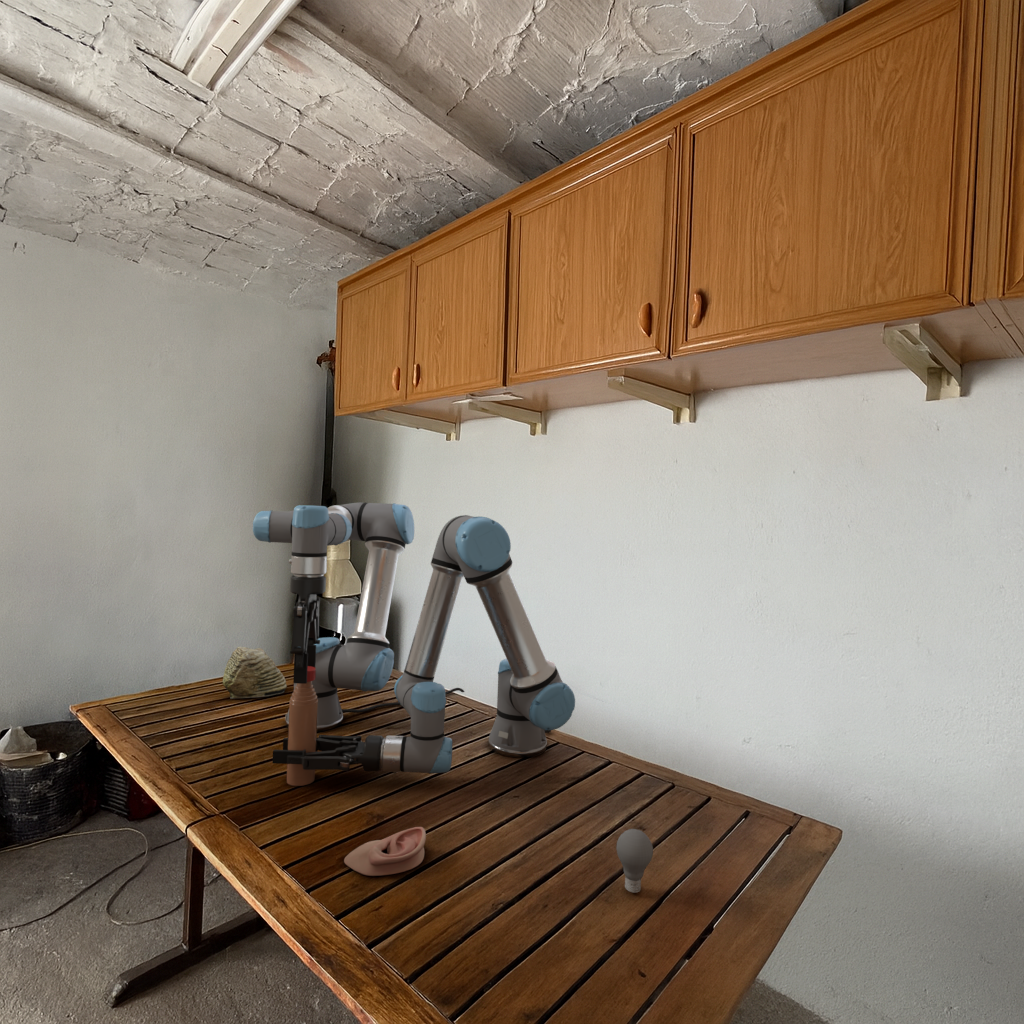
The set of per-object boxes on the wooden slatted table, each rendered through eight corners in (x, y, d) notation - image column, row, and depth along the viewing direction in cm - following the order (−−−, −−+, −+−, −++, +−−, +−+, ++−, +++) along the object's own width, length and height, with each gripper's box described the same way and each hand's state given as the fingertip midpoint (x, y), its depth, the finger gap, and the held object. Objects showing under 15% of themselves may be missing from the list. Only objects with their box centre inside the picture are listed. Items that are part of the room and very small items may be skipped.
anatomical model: (336, 847, 108) (365, 815, 119) (335, 870, 108) (364, 836, 119) (410, 859, 105) (432, 825, 116) (409, 883, 105) (431, 846, 116)
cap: (292, 677, 142) (293, 666, 142) (314, 675, 144) (314, 665, 144) (294, 683, 138) (294, 672, 138) (316, 681, 140) (316, 670, 140)
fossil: (218, 695, 195) (220, 647, 195) (278, 685, 208) (279, 640, 207) (228, 703, 189) (230, 653, 188) (289, 692, 201) (290, 645, 201)
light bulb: (610, 879, 108) (613, 822, 108) (644, 879, 109) (647, 822, 109) (619, 902, 102) (622, 840, 102) (655, 901, 103) (658, 840, 103)
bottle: (281, 779, 141) (285, 671, 141) (306, 771, 145) (310, 667, 145) (294, 788, 137) (298, 677, 136) (319, 780, 141) (323, 673, 141)
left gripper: (302, 569, 150) (299, 666, 150) (277, 580, 130) (273, 691, 131) (334, 570, 150) (331, 666, 151) (315, 581, 131) (310, 692, 131)
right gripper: (374, 789, 132) (262, 786, 131) (389, 753, 151) (291, 750, 150) (375, 753, 132) (263, 750, 131) (390, 721, 151) (292, 718, 150)
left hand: (304, 677), depth 141 cm, fingers open, 7 cm apart
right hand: (278, 750), depth 141 cm, fingers closed on bottle, 6 cm apart
